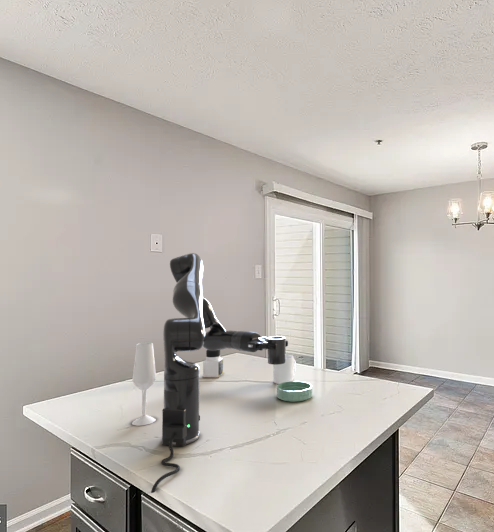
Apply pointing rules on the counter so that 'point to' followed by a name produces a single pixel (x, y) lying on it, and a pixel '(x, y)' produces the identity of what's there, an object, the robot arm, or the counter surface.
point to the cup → (277, 350)
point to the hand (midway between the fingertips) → (281, 345)
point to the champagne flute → (144, 376)
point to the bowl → (294, 391)
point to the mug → (284, 370)
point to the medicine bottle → (213, 364)
